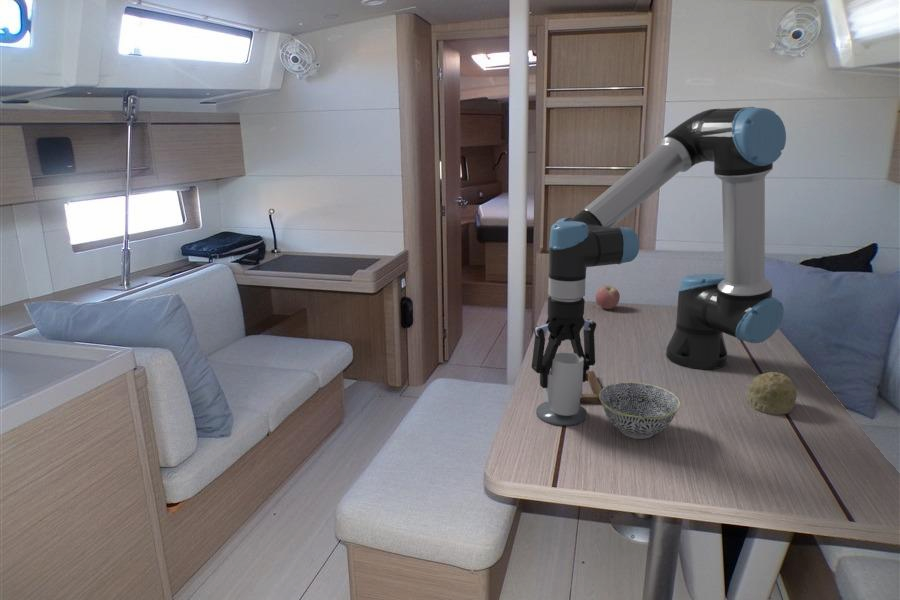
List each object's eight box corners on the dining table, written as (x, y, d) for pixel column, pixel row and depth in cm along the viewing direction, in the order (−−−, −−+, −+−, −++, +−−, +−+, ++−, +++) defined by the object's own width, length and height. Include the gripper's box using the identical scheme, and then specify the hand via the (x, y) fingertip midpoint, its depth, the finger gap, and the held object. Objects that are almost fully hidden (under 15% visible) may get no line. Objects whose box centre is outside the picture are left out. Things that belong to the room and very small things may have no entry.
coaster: (582, 403, 137) (582, 400, 137) (590, 426, 126) (591, 423, 126) (534, 402, 138) (534, 400, 137) (538, 425, 127) (538, 423, 127)
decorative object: (760, 429, 131) (792, 403, 125) (730, 391, 137) (759, 365, 130) (783, 422, 136) (816, 397, 130) (753, 386, 142) (783, 360, 135)
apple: (595, 311, 202) (596, 289, 200) (594, 305, 209) (595, 283, 207) (619, 312, 201) (621, 289, 199) (617, 306, 208) (619, 283, 206)
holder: (593, 376, 151) (593, 371, 151) (604, 403, 137) (605, 397, 136) (545, 376, 152) (545, 370, 151) (551, 402, 137) (552, 396, 137)
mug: (582, 417, 127) (585, 364, 123) (550, 416, 127) (553, 363, 124) (576, 396, 136) (579, 347, 133) (546, 395, 137) (549, 346, 133)
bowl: (666, 459, 114) (670, 423, 112) (586, 437, 122) (587, 404, 120) (684, 424, 127) (688, 391, 125) (610, 407, 135) (612, 376, 133)
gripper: (598, 287, 130) (593, 384, 137) (515, 296, 125) (514, 397, 132) (617, 297, 124) (610, 398, 130) (530, 306, 118) (528, 412, 125)
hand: (562, 397), depth 131 cm, fingers closed on mug, 7 cm apart
